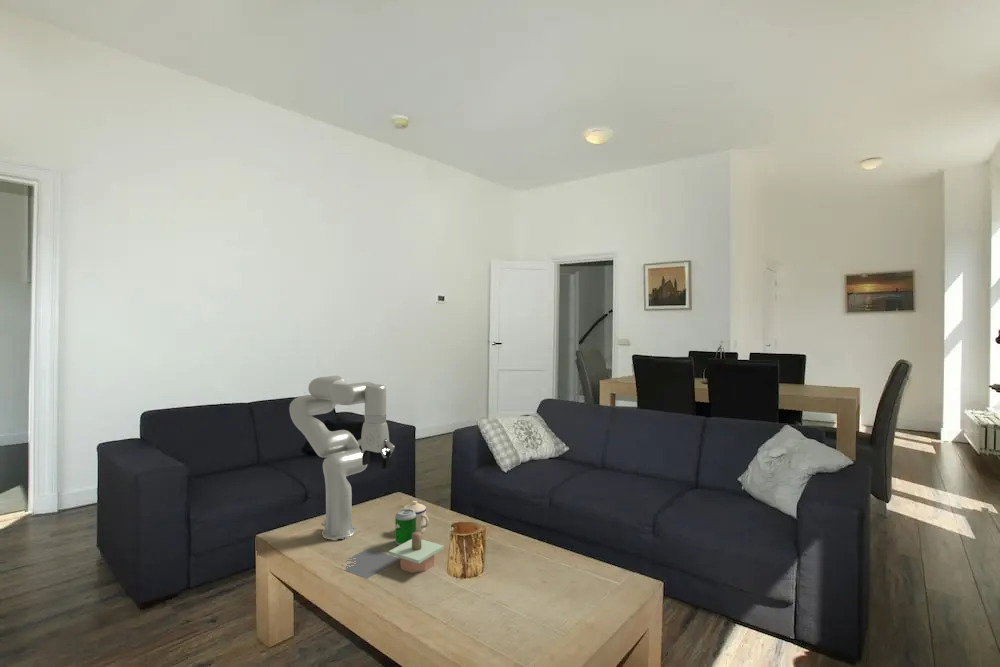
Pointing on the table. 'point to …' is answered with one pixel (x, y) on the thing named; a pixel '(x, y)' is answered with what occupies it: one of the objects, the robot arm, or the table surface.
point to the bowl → (417, 565)
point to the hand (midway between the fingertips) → (375, 466)
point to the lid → (416, 549)
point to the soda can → (405, 525)
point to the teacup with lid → (419, 515)
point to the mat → (370, 563)
